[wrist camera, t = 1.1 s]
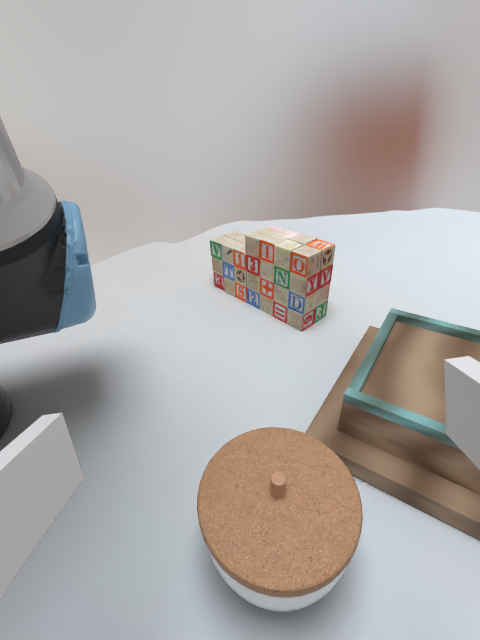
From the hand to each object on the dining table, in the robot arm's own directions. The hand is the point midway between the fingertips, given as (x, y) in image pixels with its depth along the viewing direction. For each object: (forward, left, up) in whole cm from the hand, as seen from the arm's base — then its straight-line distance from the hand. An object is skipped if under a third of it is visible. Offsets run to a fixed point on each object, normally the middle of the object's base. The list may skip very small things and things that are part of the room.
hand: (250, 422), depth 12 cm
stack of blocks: (-21, +38, -21) cm, 48 cm away
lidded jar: (-1, +5, -20) cm, 21 cm away
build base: (+8, +25, -20) cm, 33 cm away
